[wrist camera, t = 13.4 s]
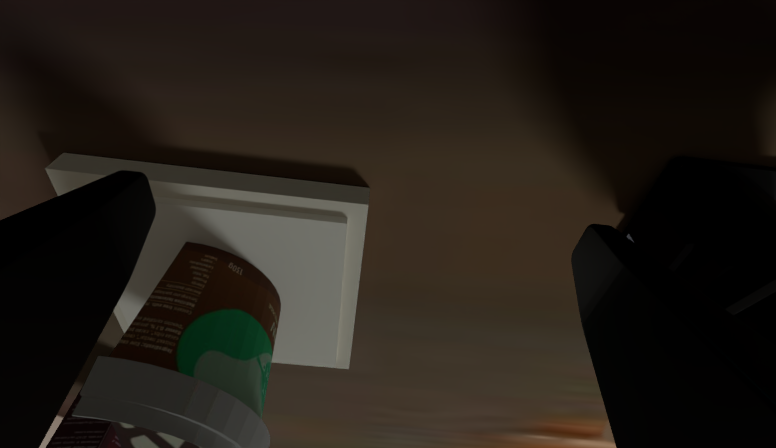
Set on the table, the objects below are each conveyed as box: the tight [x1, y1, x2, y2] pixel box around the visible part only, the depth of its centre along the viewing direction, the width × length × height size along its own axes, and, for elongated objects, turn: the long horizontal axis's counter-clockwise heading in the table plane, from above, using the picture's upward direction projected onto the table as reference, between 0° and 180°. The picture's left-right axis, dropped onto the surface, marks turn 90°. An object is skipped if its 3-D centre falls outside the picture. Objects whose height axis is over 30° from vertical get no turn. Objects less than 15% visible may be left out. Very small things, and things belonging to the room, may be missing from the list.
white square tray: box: [45, 153, 370, 369], centre depth 27 cm, size 16×16×2 cm
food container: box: [72, 242, 281, 448], centre depth 23 cm, size 12×6×10 cm, turn 173°
